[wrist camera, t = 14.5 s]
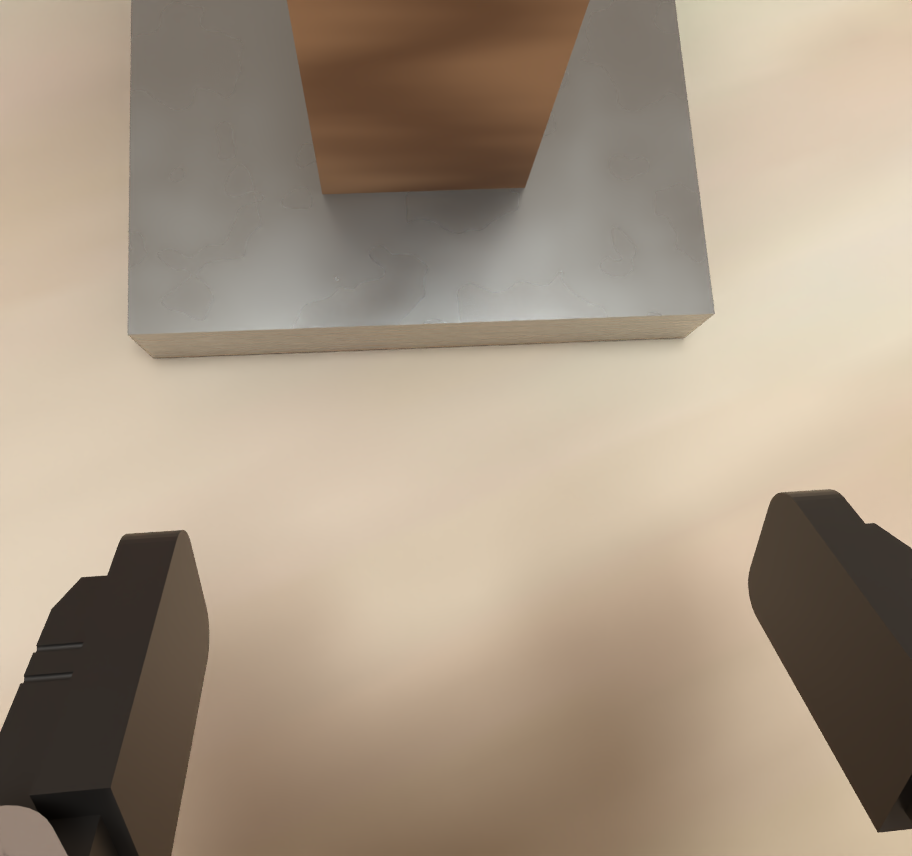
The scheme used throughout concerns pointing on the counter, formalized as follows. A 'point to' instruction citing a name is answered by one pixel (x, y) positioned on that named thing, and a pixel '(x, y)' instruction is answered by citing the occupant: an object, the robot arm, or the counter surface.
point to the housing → (430, 89)
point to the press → (403, 204)
